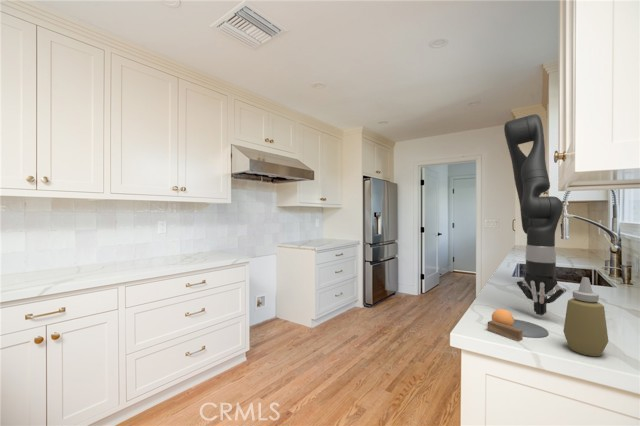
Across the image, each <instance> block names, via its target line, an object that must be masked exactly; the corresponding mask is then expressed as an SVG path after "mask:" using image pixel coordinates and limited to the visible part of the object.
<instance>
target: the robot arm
mask: <svg viewBox="0 0 640 426" xmlns="http://www.w3.org/2000/svg"><path fill="white" fill-rule="evenodd" d="M503 129H504V131H503V132H504V137H505V140H506V141H505V142H506V144H507V149H508V152H509V155H510V159H511V164H512V171H513V178H514V184H515V188H516V192H517V198H518V202H519V207H520V208H519V209H520V210H519V211H520V220H521V226H522V231H523V232H524V233H525V235H526V247H525V248H526V249H525V256H524V258H525V275H524V277H523V279H522V280H519V281H516V285H517V286H518V287H519V289H520V290H521V291H522V293H523V294H524V295H525V297H526V298H527V299H528V300H531V301H533V310H534V313H535V314H536V315H539V316H544V315H545V314H546V313H547V304H552V303H554V302H555V301H557V299H559V298H560V297H561V296H563V294H565V293H566V292H567V289H566V288H564V287H561V286H560V285H558V281H557V279H556V276H557V275H556V274H557V272H556V269H557V266H556V265H557V264H556V263H557V262H556V261H557V259H556V258H557V257H556V256H557V254H556V247H555V245H556V232H557V227H558V224H559V221H560V219H561V216H562V213H563V211H564V205H563V202H562V200H561V199H560V198H559V197H558V196H552V195H551V196H548V195H547V196H541V195H542V194H544V193H546V192H548V191H549V190H550V188H551V182H550V178H549V174H548V170H547V163H546V145H545V135H544V127H543V122H542V119H541V117H540V115H538V114H537V113H535V114H530V115H525V116H523V117H519V118H515V119H512V120H509V121H506V122H505V124H504V126H503ZM530 142H531V143H532V147H531V149H530V152H529V153H528V154H527V155H526V154H525V153H524V152H523V151H522V150H521V148H520V146H519V145H523V144H527V143H530ZM549 296H550V297H549Z"/></svg>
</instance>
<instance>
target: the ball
mask: <svg viewBox="0 0 640 426" xmlns="http://www.w3.org/2000/svg"><path fill="white" fill-rule="evenodd" d="M491 320H492V321H495V322H498V323H501V324H504V325H507V326H511V327H512V326H513V324H514V315H513V314H512V313H510V311H508V310H507V309H503V308H499V309H495V310H494V311H493V312H492V314H491Z"/></svg>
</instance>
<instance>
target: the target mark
mask: <svg viewBox="0 0 640 426" xmlns="http://www.w3.org/2000/svg"><path fill="white" fill-rule="evenodd" d="M512 327H514V328H517V329H520V330H523V337H524V338H533V339H534V338H535V339H541V338H546V337H548V336H549V331H548V330H547V329H546V328H544V326H541V325H538V324H535V323H534V322H533V323H532V322H530V321H525V320H521V319H516V318H515V319H514V324H513V326H512Z"/></svg>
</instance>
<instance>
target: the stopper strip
mask: <svg viewBox="0 0 640 426" xmlns="http://www.w3.org/2000/svg"><path fill="white" fill-rule="evenodd" d="M487 331H488V332H489V333H490V332H491V333H493V334H496V335H499V336H502V337H505V338H508V339H510V340H514V341H515V342H520V341H523V330H520V329H517V328H514V327H511V326H507V325H504V324H501V323H498V322H495V321H492V319H491V320H488V321H487Z"/></svg>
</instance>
